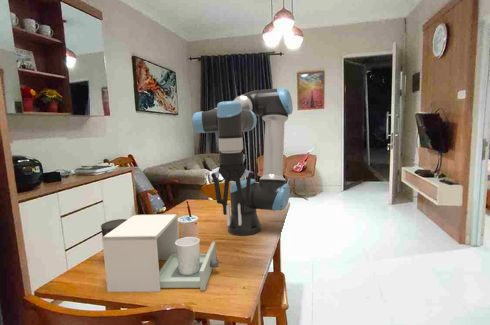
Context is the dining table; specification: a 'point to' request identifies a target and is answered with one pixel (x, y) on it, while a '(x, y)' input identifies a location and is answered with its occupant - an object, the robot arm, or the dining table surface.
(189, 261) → the white cup
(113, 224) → the coffee can
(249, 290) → the dining table surface
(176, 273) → the tray
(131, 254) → the box
